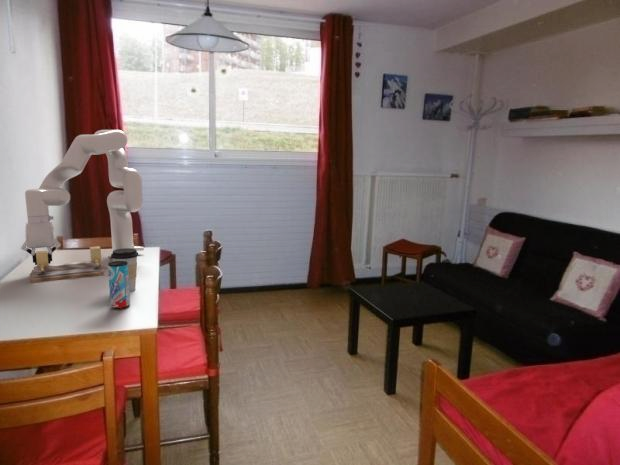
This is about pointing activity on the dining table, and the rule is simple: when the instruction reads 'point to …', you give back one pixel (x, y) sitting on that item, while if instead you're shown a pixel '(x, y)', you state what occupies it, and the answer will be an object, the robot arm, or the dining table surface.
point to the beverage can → (119, 284)
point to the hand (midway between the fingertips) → (42, 263)
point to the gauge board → (66, 271)
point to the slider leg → (42, 259)
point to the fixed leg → (95, 255)
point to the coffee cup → (131, 258)
